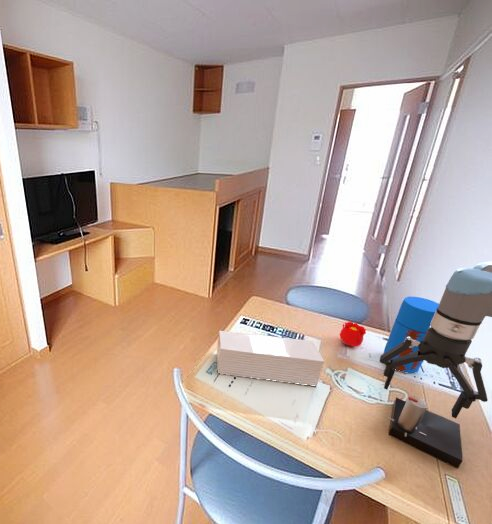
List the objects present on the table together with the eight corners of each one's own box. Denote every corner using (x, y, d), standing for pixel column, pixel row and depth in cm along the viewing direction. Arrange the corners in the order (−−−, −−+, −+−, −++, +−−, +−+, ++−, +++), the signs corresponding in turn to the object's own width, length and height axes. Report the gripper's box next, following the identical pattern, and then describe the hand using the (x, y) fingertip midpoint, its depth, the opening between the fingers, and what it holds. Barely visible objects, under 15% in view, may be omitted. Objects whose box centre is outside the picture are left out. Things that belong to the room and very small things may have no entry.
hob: (455, 431, 85) (460, 423, 84) (458, 472, 75) (463, 463, 74) (388, 402, 95) (391, 394, 93) (382, 435, 84) (386, 427, 83)
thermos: (386, 350, 118) (408, 293, 109) (421, 364, 111) (448, 305, 101) (377, 362, 112) (400, 302, 102) (414, 378, 104) (442, 316, 95)
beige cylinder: (416, 425, 84) (428, 400, 80) (415, 435, 81) (428, 409, 77) (397, 417, 86) (408, 392, 82) (396, 426, 83) (408, 401, 80)
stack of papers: (217, 373, 106) (220, 348, 102) (216, 354, 116) (219, 330, 111) (316, 387, 100) (324, 361, 96) (306, 365, 110) (313, 340, 106)
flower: (362, 343, 122) (368, 326, 119) (358, 352, 117) (364, 335, 114) (340, 335, 127) (345, 319, 124) (335, 343, 122) (340, 327, 119)
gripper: (383, 318, 77) (359, 383, 85) (535, 365, 61) (488, 438, 70) (386, 307, 82) (363, 369, 90) (527, 347, 67) (484, 417, 75)
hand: (418, 399), depth 80 cm, fingers open, 13 cm apart
